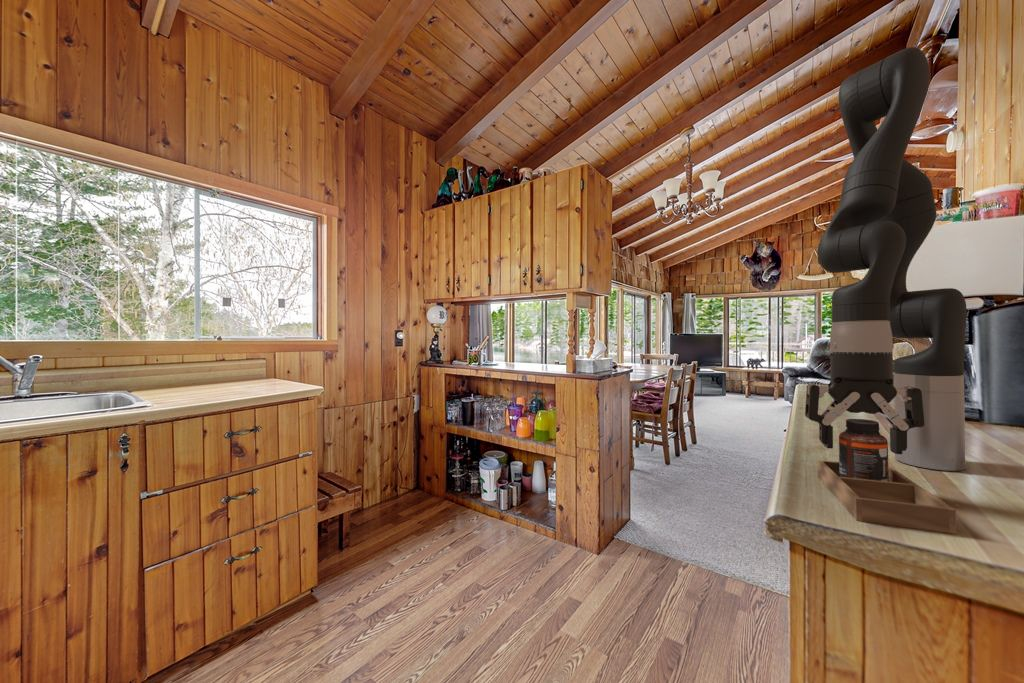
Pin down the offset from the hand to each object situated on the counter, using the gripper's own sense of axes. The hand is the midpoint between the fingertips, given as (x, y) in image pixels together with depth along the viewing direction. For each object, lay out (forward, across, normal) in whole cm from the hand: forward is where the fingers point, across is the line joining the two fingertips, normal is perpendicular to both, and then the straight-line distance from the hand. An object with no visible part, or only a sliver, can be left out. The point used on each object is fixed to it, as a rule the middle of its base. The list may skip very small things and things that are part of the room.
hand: (861, 450), depth 63 cm
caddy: (+7, 0, +4) cm, 8 cm away
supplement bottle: (+7, 0, 0) cm, 7 cm away
